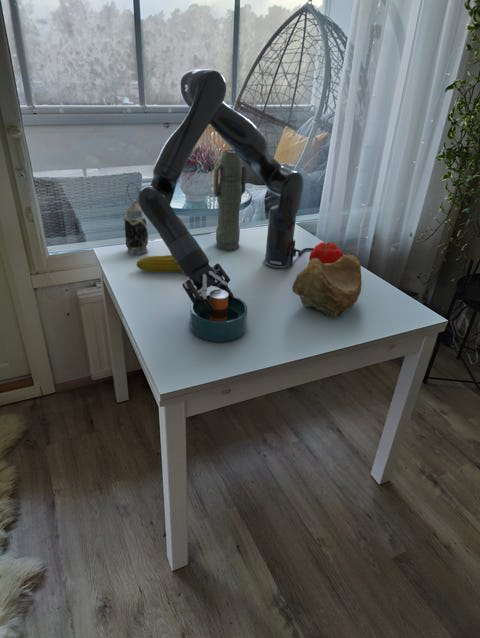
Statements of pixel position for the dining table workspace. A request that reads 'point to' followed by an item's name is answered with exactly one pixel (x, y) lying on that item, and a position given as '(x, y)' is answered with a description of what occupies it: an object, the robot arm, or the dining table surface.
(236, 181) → the thermos
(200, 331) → the bowl
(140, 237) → the lantern
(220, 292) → the tube
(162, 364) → the dining table surface
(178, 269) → the food
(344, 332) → the dining table surface
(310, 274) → the rough brown rock
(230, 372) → the dining table surface
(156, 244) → the dining table surface
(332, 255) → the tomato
